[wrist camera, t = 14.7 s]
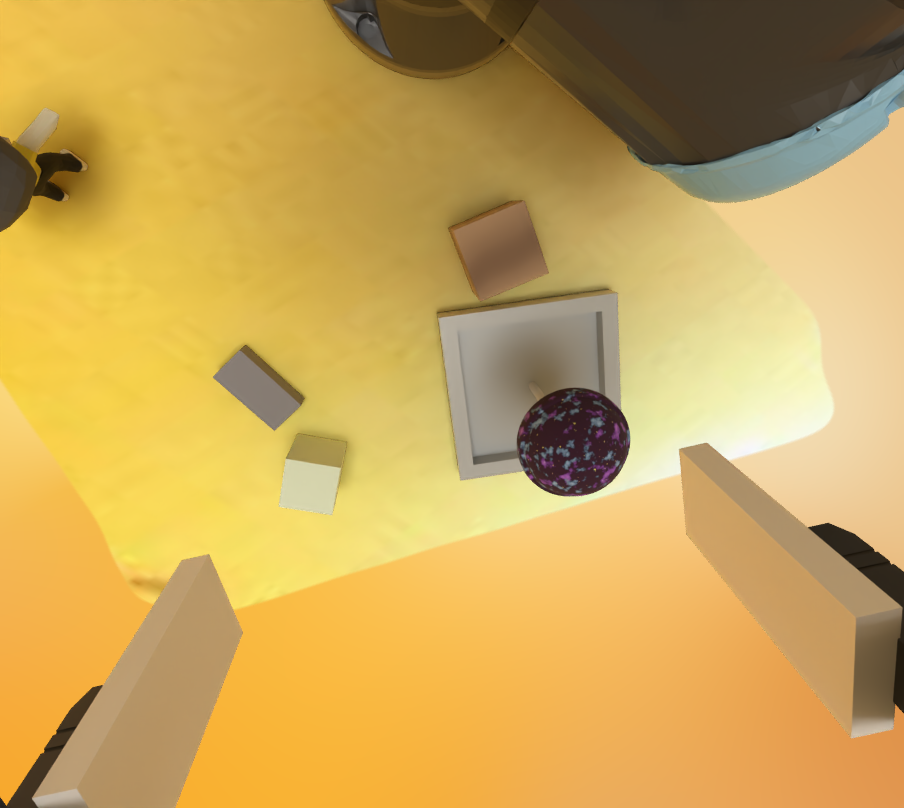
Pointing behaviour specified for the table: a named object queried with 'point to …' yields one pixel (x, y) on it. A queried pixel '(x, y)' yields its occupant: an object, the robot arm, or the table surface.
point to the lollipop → (572, 441)
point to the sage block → (312, 474)
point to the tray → (522, 368)
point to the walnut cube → (499, 249)
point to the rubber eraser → (259, 387)
